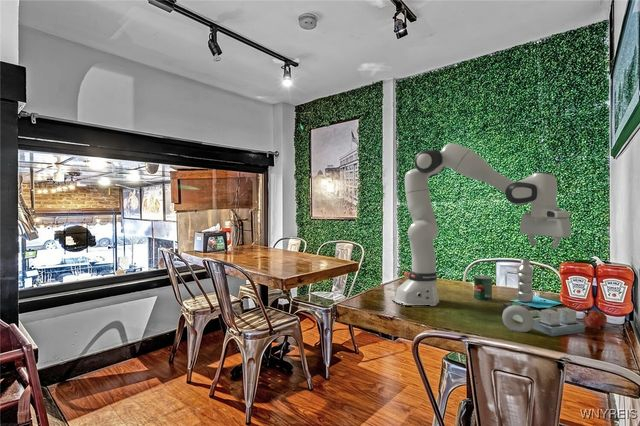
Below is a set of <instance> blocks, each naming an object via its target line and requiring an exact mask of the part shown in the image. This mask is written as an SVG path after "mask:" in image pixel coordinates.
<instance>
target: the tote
mask: <svg viewBox="0 0 640 426" xmlns="http://www.w3.org/2000/svg"><path fill="white" fill-rule="evenodd" d="M529 312H530V313H531V314H532V316H533V319H534V321H541V310H538V309H537V310H530V311H529ZM534 317H535V318H534ZM512 319H513V321H517V322H519V323H522V322H523V318H522V317H521V316H520V315H514V316H513V318H512Z"/></svg>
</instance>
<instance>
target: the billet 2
mask: <svg viewBox="0 0 640 426" xmlns="http://www.w3.org/2000/svg"><path fill="white" fill-rule="evenodd" d="M556 309H557V310H556V311H557V312H560V323H563V324H566V325H573V324H576V322H577V310H575V309H571V308H569V307H558V308H556Z"/></svg>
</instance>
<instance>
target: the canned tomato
mask: <svg viewBox="0 0 640 426" xmlns="http://www.w3.org/2000/svg"><path fill="white" fill-rule="evenodd" d="M473 279H474V280H473V281H474V282H473V291H474V292H473V299H474V300H476V301H477V302H479V301H480V302H491V301H492V300H493V298H492V297H493V293H492V292H493V277H492V276H489V275H483V274H482V275H481V274H479V275H474V278H473Z"/></svg>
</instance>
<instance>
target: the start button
mask: <svg viewBox="0 0 640 426" xmlns="http://www.w3.org/2000/svg"><path fill="white" fill-rule="evenodd" d="M512 302H513V303H512V305H519V306H521V304H522V303H521V302H518V303H516V302H517V301H512ZM520 303H521V304H520Z"/></svg>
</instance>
